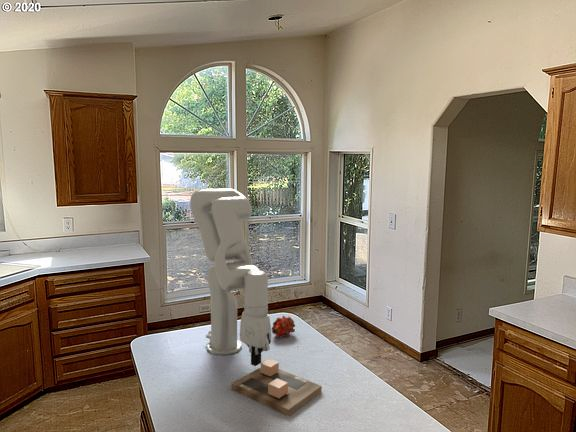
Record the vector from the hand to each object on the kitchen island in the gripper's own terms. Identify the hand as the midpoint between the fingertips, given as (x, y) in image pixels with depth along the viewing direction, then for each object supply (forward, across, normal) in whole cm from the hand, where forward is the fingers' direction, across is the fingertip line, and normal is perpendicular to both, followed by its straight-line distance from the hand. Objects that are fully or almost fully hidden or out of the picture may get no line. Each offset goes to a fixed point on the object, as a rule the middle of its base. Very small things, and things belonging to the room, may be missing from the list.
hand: (256, 363), depth 140 cm
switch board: (+3, +12, -4) cm, 13 cm away
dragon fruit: (+4, -12, +29) cm, 32 cm away
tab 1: (+1, +6, 0) cm, 6 cm away
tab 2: (+1, +16, -8) cm, 18 cm away
